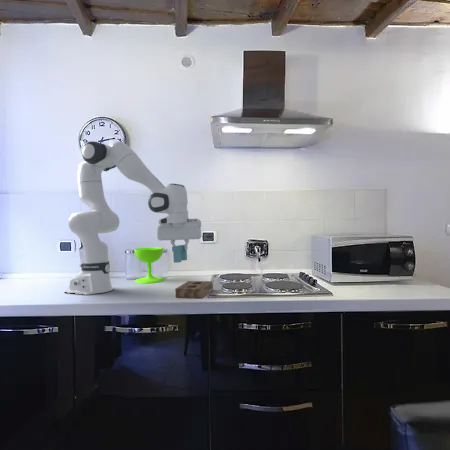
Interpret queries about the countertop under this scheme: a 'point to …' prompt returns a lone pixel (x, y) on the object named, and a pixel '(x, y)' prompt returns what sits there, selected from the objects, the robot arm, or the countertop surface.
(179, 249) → the teal long block
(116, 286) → the countertop surface
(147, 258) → the wineglass
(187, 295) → the wooden board with holes
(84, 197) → the robot arm
